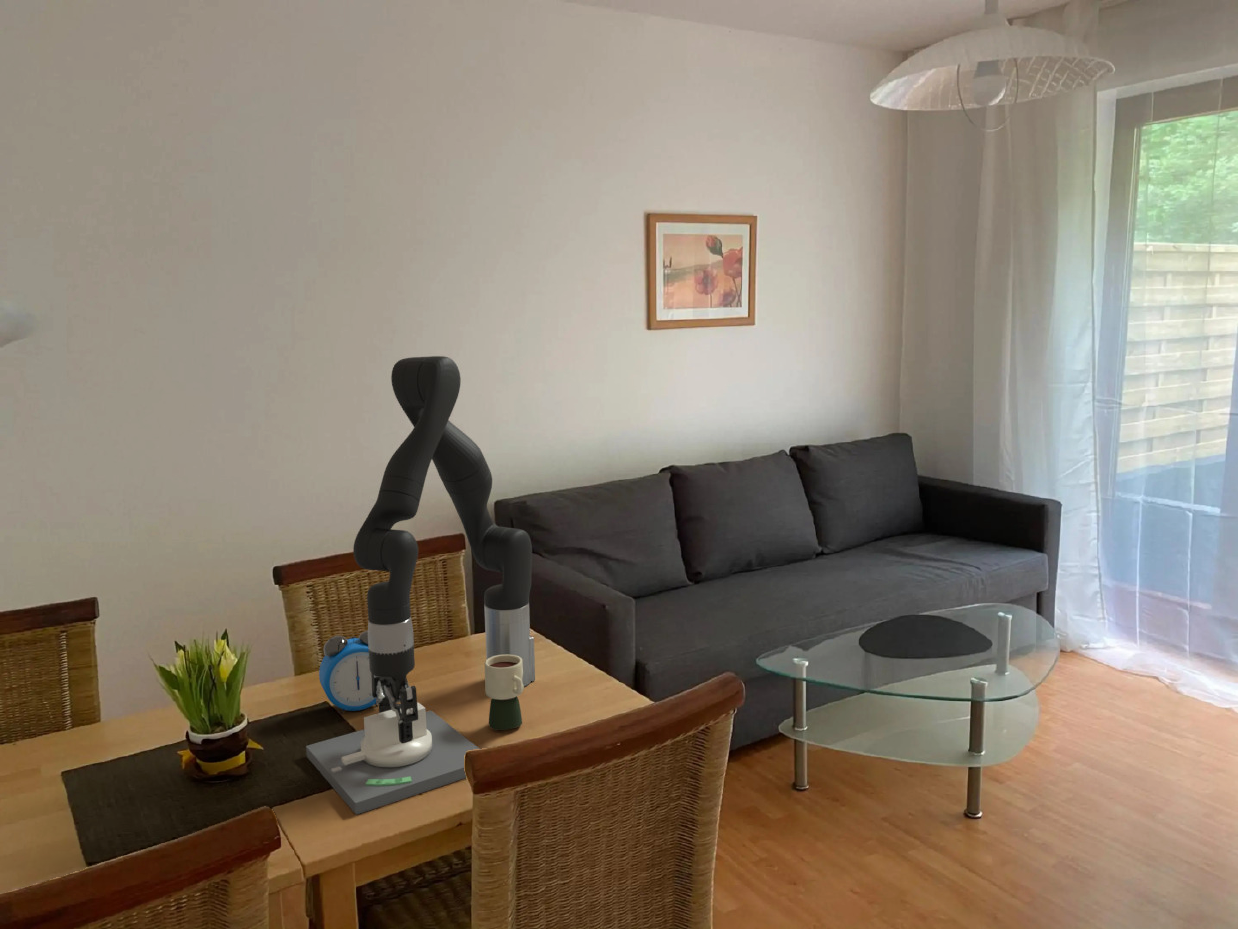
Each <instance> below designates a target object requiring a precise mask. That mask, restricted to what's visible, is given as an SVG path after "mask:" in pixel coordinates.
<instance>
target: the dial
mask: <svg viewBox="0 0 1238 929" xmlns="http://www.w3.org/2000/svg"><path fill="white" fill-rule="evenodd" d="M417 707H418V720H416V721H412V731H413V739H412V741H410V742H407V743H401V742H400V741H399V730H398V719H397V716H396V712H395V711H392V710H389V711H385V712H381V713H379V712H378V713H374V714H371V715H368V716H364V717H363V724H364V725H363V726H364V727H363V728H364V729H365V737H364V738H363V739H362V741H361V751H360V752H357V753H354V754H350V755H347V756H343V757H342V762H343V763H344V764H345V765H347V764H351V763H354V762H357V761H361V760H364V761H365V762H366V763H368V764H370V765H373V766H378V767H399V766H405V765H409V764H412V763H415V762H417V761H420V760H422V759H423V758H425V757H426V756H427V755H428V754H429V753H430V752H431V750H432V735H431V733H430V731H429V730H427V728H426V712H427V711H426V707H425V706H424V705H422V704H421V703H420V702H418V701H417ZM400 711H401V709H400ZM407 714H408V713H407ZM364 729H363V730H364Z"/></svg>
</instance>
